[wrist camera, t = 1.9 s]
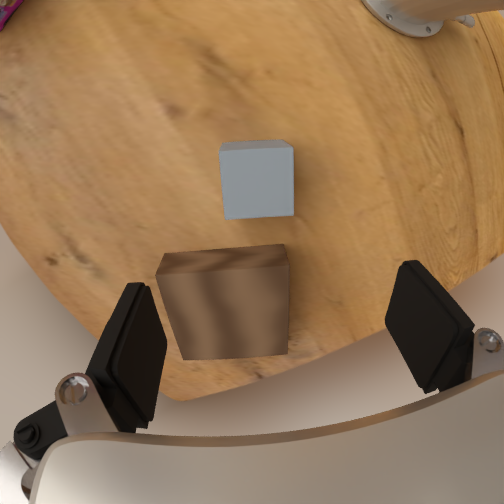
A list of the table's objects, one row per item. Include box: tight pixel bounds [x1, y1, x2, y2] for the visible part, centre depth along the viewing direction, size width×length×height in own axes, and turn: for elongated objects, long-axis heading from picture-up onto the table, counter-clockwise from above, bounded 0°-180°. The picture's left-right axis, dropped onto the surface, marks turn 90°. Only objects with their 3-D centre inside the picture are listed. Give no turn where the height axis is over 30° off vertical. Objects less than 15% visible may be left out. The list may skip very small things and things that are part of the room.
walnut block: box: [155, 244, 290, 360], centre depth 34 cm, size 14×14×5 cm
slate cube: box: [219, 140, 294, 220], centre depth 25 cm, size 6×6×6 cm
